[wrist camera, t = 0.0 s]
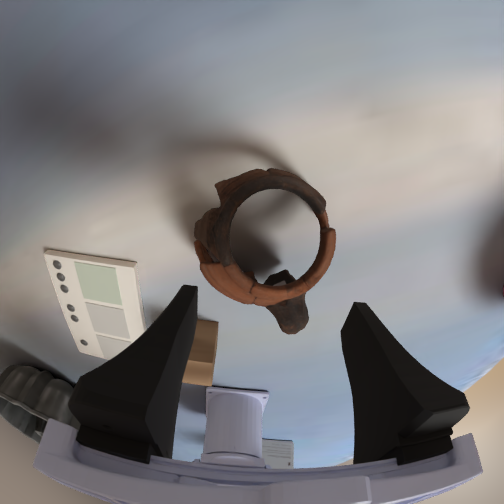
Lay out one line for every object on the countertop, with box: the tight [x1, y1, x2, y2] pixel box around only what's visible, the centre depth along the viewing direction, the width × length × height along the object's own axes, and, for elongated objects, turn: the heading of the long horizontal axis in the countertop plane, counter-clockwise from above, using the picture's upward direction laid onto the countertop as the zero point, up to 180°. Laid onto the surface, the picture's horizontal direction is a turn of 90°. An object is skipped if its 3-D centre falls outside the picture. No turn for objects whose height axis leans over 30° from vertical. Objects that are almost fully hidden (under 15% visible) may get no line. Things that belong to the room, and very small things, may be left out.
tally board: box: [44, 250, 147, 360], centre depth 28 cm, size 15×10×1 cm, turn 173°
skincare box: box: [262, 439, 294, 469], centre depth 40 cm, size 8×6×15 cm
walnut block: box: [182, 319, 218, 386], centre depth 27 cm, size 4×4×5 cm
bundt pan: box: [0, 365, 81, 444], centre depth 38 cm, size 26×26×10 cm
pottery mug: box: [194, 168, 336, 334], centre depth 21 cm, size 12×10×8 cm
